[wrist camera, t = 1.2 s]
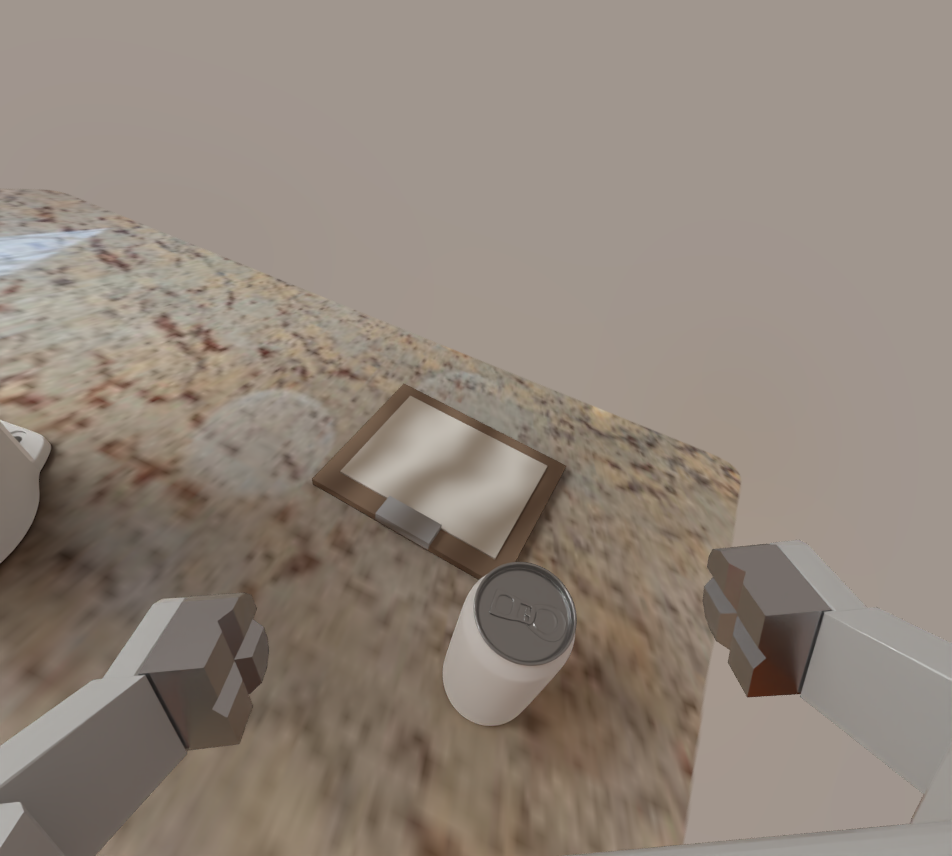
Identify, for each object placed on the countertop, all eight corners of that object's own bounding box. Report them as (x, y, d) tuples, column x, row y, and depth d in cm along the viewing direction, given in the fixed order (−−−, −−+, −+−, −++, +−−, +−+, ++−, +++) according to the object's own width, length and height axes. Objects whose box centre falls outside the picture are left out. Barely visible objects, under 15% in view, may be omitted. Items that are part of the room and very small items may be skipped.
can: (519, 743, 35) (572, 695, 26) (427, 705, 35) (448, 645, 26) (541, 648, 39) (593, 578, 30) (459, 616, 40) (486, 538, 31)
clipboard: (311, 485, 45) (309, 475, 44) (403, 389, 54) (404, 378, 53) (498, 593, 41) (502, 585, 40) (564, 470, 50) (568, 461, 49)
